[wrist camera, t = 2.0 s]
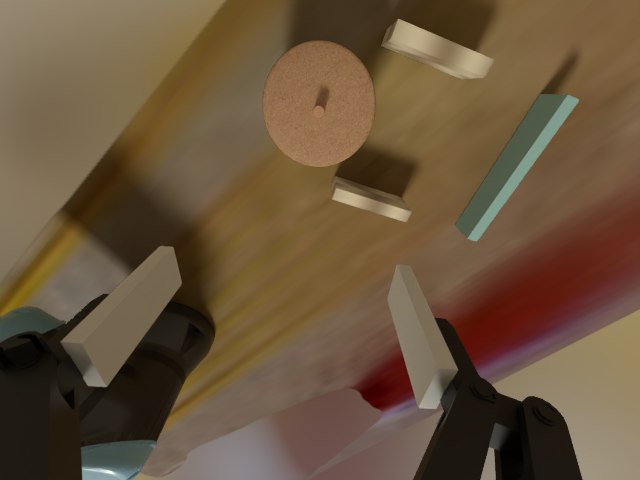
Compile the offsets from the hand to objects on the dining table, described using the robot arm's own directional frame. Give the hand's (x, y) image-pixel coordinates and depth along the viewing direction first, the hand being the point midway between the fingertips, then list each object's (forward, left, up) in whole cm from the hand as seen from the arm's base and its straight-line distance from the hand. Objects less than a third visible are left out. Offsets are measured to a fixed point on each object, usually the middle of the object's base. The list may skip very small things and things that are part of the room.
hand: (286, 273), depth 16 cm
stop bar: (+24, +8, -23) cm, 34 cm away
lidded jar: (-1, +8, -23) cm, 24 cm away
